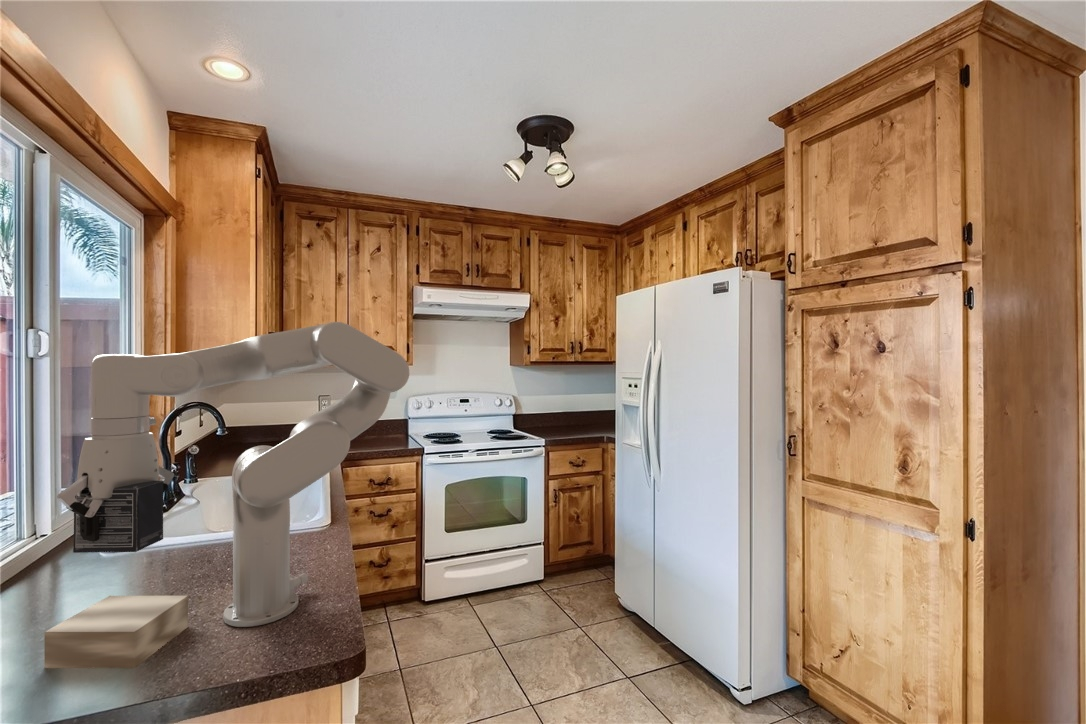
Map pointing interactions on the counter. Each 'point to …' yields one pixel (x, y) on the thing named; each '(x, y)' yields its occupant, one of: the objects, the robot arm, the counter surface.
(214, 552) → the counter surface
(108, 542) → the small box
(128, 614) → the birch block
